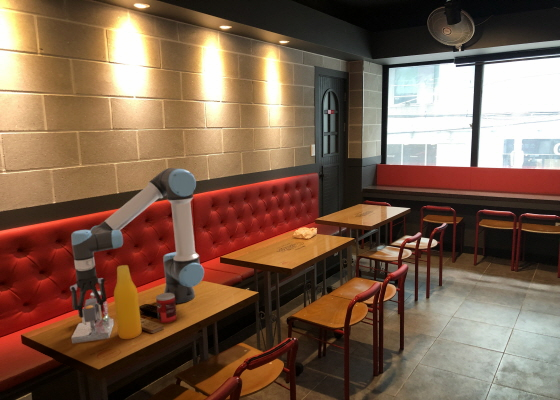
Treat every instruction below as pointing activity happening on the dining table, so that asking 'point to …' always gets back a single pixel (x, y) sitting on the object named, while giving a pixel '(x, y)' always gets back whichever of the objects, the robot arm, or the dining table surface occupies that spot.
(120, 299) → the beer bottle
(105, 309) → the soda can
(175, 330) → the dining table surface
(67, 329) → the dining table surface
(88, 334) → the plate
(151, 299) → the dining table surface
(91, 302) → the grey block orange dot
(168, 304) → the canned food
